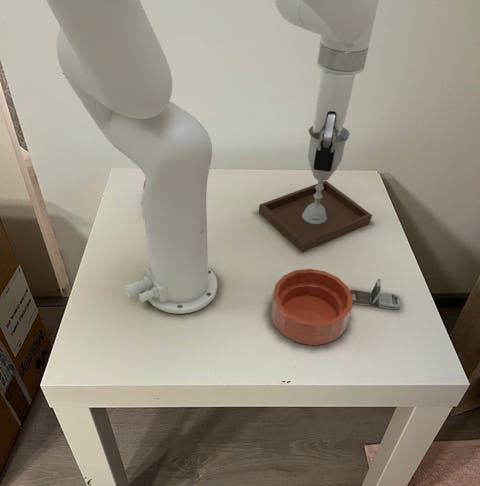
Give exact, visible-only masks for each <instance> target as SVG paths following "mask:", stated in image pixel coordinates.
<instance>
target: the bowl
mask: <svg viewBox="0 0 480 486" xmlns="http://www.w3.org/2000/svg"><path fill="white" fill-rule="evenodd" d="M350 291H351V290H350V288H349V286H348V285H347V284H346V283H345V282H344V281H343V280H342V279H340V278H339V277H338V276H336V275H334V274H332V273H330V272H327V271H325V270H320V269H314V268H305V269H296V270H295V269H294V270H293V271H290V272H288V273H286V274H284V275H282V277H281V278H280V279H279V280H278V281H277V282H276V283H275V285H274V288H273V293H272V302H271V309H270V316H271V319H272V324H273V326H274V327H275V328H276V329H277V330H278V331H279V332H280V333H281V334H282V336H284V337H285V338H287V339H290V340H291V341H293V342H295V343H296V344H297V343H298V344H304V345H310V346H318V345H324V344H329V343H330V342H332V341H334V340H336V339H338V338H340V337H341V335H342V334H343V333H344V331H345V330H346V329H347V326H348V323H349V319H350V317H351V313H352V309H353V303H352V301H353V300H354V296H353V295H352V294H353V293H352V294H351V292H350Z"/></svg>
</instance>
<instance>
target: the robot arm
mask: <svg viewBox="0 0 480 486" xmlns="http://www.w3.org/2000/svg"><path fill="white" fill-rule="evenodd" d="M274 1H275V7H276V9H277V11H278V13H279V14H280V16H281V18H283V19H284V20H285V21H286V22H288V23H290V24H292V25H294V26H296V27H298V28H302V29H304V30H306V31H308V32H311V33H314V34H317V35H320V39H319V47H318V53H317V54H318V55H317V62H316V65H317V67H318V68H319V69H320V70H322V71H321V76H320V80H319V87H318V92H317V99H316V104H315V105H316V106H315V112H314V119H313V125H312V126H313V132H314V133H316V132H317V133H319V132H320V131H321V132H320V138H319V144H318V147H317V148H316V154H315V161H314V167H313V168H314V170H320V171H327V172H330V171H331V169H332V164H333V159H334V153H335V150H334V146H335V140H336V136H338V135H340V134H341V131H342V127H343V128H344V123H345V120H346V117H347V112H348V110H349V104H350V101H351V96H352V93H353V86H354V81H355V78H356V75H357V74H358V75H359V74H360V73H362V72H364V70H365V67H366V61H367V57H368V52H369V47H370V43H371V37H372V33H373V30H374V29H373V28H374V24H375V18H376V14H377V9H378V4H379V0H274ZM46 2H47V4H48V6H49V8H50V10H51V12H52V14H53V16H54V18H55V20H56V21H57V23H58V24H59V26H60V27H59V29H58V32H57V38H56V55H57V59H58V63H59V66H60V69H61V72H62V73H63V75H64V77H65V79H66V81H67V82H68V84H69V86H70V87H71V89H72V90H73V91H74V93H75V95H76V96H77V97H78V99H79V100H80V102H81V104H82V105H83V107H84V108H85V110H86V111H87V112H88V114H89V116H90V118H92V120H93V122H94V123H95V124H96V126H97V127H98V129H99V130H100V132H101V133H102V134H103V136H104V137H105V138H106V139H107V141H108V142H109V143H110V144H111V145H112V146H113V147H114V148H115V149H117V150H118V151H119V152H121V153H122V154H123V155H124V156H126V157H127V158H128V159H129V160H130V161H131V162H132V163H133V164H135V165H136V166H137V167H138V168H139V169H140V170H141V171H142V173H143V175H144V177H145V179H146V184H145V188H144V191H143V190H142V194H141V211H142V212H141V213H142V217H143V218H142V219H143V223H144V229H145V237H146V244H147V250H148V257H149V264H150V267H149V268H146V269H145V276H143V277H141V280H139V281H136V282H133V283H129V284H127V285H125V286H124V290H125V292H126V294H127V296H128V297H129V298H131V297H133V296H135V295H137V294H138V298H139V300H140V302H141V303H143V302H146V301H148V302H149V303H150V304H151V305H152V306H153V307H155V308H156V309H158V310H160V311H162V312H165V313H169V314H177V315H178V314H179V315H182V314H183V315H184V314H189V313H194V312H197V311H199V310H202V309H204V308H205V307H206V306H208V305H209V304H210V303H211V302H212V301H213V300H214V299H215V297H216V295H217V292H218V279H217V276H216V274H215V273H214V271H213V270H212V269H211V268H210V267H209V254H208V253H209V252H208V250H209V249H208V214H207V188H208V187H207V186H208V179H209V173H210V169H211V163H212V158H213V144H212V140H211V137H210V135H209V132H208V131H207V130H206V128H205V126H203V125H202V123H201V122H200V121H199V120H198V118H196V117H195V116H193V115H192V114H191V113H189V112H188V111H186V110H185V109H183V108H182V107H180V106H178V105H177V104H176V103H174V102H172V101H170V100H171V98H172V92H173V76H172V72H171V68H170V64H169V62H168V60H167V57H166V55H165V53H164V50H163V48H162V46H161V44H160V42H159V39H158V37H157V35H156V33H155V31H154V28H153V27H152V24H151V22H150V20H149V17H148V15H147V13H146V11H145V9H144V6H143V4H142V2H141V0H46ZM335 127H336V128H335ZM323 128H326V129H325V131H323ZM333 129H335V132H332V131H333ZM323 135H324V140H322V139H323ZM332 136H333V140H332V141H331V137H332Z"/></svg>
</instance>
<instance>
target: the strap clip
mask: <svg viewBox="0 0 480 486" xmlns="http://www.w3.org/2000/svg"><path fill="white" fill-rule="evenodd" d="M381 291H382V280H381V278H379V279H377V280H376V283H375V285H373V289H372V290H371V293H370V292H367V291H362V290H354V289H351V290H350V292H351V294H355V295H356V300H354V299H353V301H352V304H354V305H359V306H360V305H361V306H371V305H373V304H375V305H376V306H377V307H378V308H383V309H389V310H398V309H399V308H400V306H401V304H400V296H399V295H397V294H396V293H395V294H394V293H392V292H391V293H389V292H381ZM393 300H396V301H395V302H396V304H395V303H393Z"/></svg>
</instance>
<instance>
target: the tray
mask: <svg viewBox="0 0 480 486" xmlns="http://www.w3.org/2000/svg"><path fill="white" fill-rule="evenodd" d="M317 184H318V183H315V184H312V185H309V186H307V187H304V188H302V189H299V190H295V191H293V192H290V193H287V194H284V195H282V196H279V197H276V198H273V199H271V200H268V201H265V202H263V203H259V207H258V214H259V215H260V216H261V217H263V218H264V220H266V221H267V222H268V223H269V224H270V225H272V226H273V227H274V228H275V229H276V230H277V231H278V232H279V233H280V235H282V236H283V237H285V239H286V240H288V241H289V242H290V243H291V244H292V245H293V246H294V247H295V248H296V249H298V251H300V252H301V253H304V252H306V251H308V250H311V249H314V248H315V247H318V246H321V245H323V244H325V243H327V242H330V241H332V240H334V239H337V238H339V237H342V236H344V235H346V234H348V233H351V232H353V231H356V230H358V229H360V228H363V227H365V226H368V225H370V224H371V221H372V217H373V215H372V213H370V212H369V211H368V210H367V209H365V208H363V207H362V206H361V205H359V204H358V203H357V202H355V200H353V199H351V198H350V197H349V196H347V195H346V194H345V193H343V192H342V191H340V189H338V188H337V187H335V186H334V185H333V184H331V183H330V182H329V181H328V180H325V181H323V187H324V189H323V190H322V192H321V195H322V196H323V197H322V198H321V199H320V204H321V205H322V206H323V207H324V208H325V212H326V216H327V220H326V221H325V222H323V223H320V224H313V223H309V222H307V221H305V220H304V219H303V217H302V214H303V212H304V211H305V209H306V208H307V206H308V205H310V204H312V203H314V202H315V197H314V194H316V188H315V187H316V186H317Z"/></svg>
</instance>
